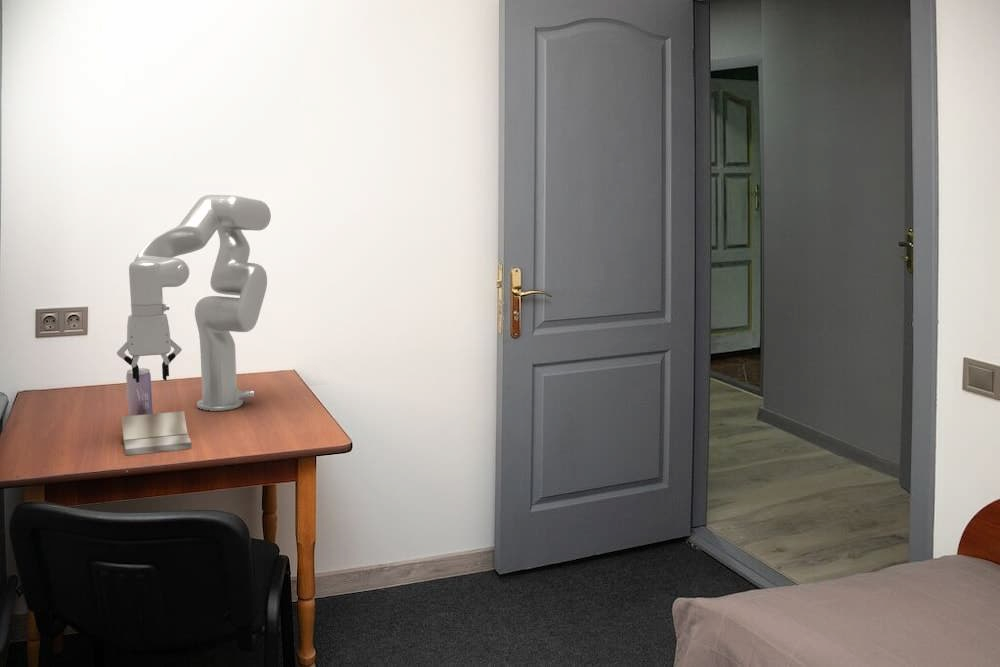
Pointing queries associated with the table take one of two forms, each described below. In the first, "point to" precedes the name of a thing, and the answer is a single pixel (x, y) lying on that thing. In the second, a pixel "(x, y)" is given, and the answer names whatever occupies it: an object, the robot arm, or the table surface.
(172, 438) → the floorboard
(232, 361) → the robot arm
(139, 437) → the plank
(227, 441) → the table surface
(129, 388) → the beverage can
